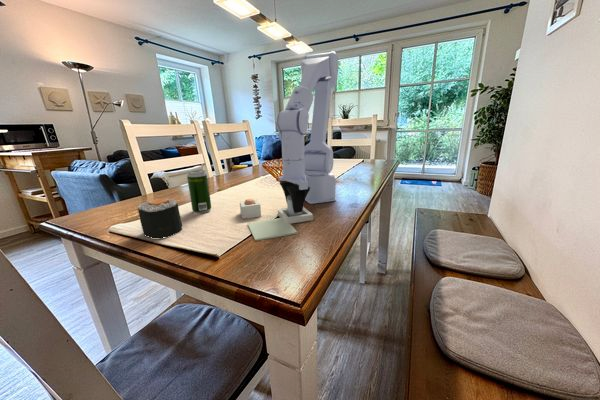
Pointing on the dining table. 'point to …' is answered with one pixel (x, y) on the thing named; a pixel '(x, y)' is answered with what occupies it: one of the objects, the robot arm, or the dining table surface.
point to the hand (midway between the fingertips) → (294, 208)
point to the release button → (249, 201)
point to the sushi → (160, 218)
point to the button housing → (250, 209)
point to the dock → (295, 219)
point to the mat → (271, 229)
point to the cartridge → (291, 208)
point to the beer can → (199, 191)
